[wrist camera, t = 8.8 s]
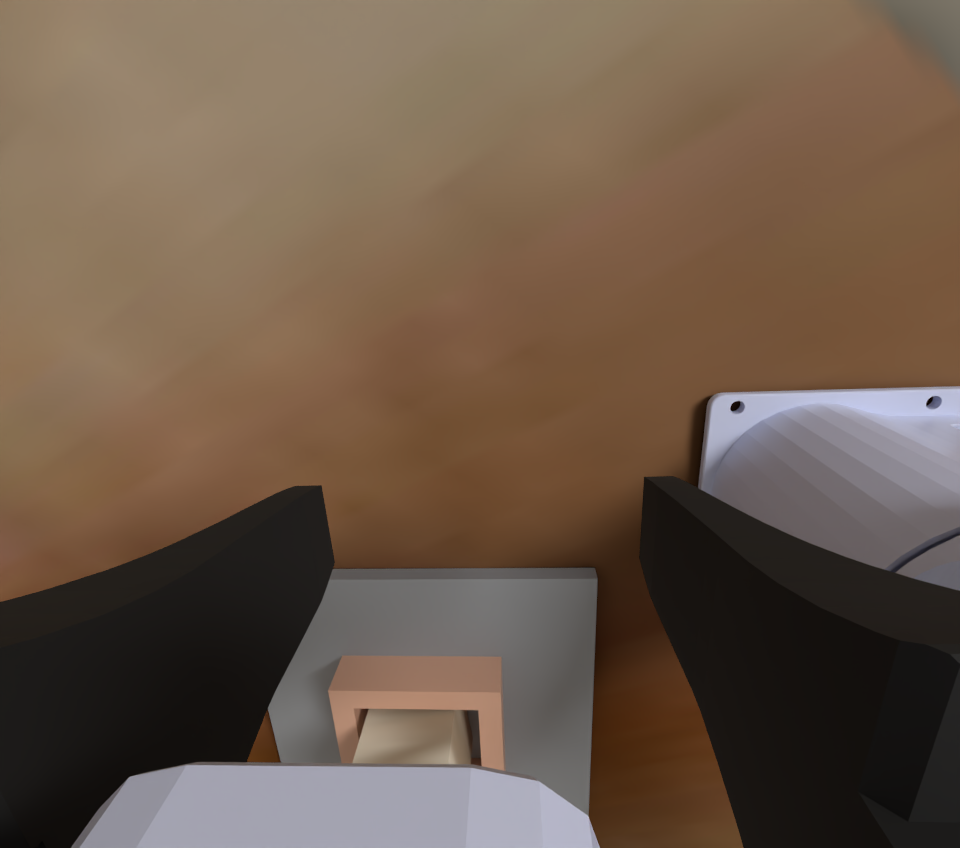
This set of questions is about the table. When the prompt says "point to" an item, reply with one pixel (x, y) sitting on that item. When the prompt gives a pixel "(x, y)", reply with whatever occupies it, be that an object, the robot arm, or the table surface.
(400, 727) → the peg
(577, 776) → the holder
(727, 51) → the table surface
